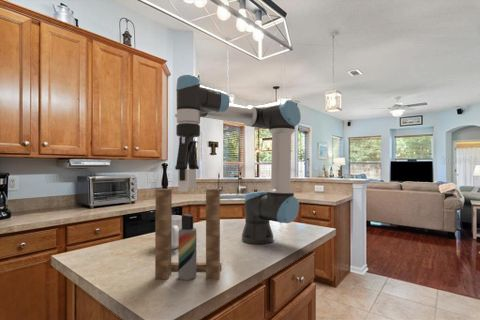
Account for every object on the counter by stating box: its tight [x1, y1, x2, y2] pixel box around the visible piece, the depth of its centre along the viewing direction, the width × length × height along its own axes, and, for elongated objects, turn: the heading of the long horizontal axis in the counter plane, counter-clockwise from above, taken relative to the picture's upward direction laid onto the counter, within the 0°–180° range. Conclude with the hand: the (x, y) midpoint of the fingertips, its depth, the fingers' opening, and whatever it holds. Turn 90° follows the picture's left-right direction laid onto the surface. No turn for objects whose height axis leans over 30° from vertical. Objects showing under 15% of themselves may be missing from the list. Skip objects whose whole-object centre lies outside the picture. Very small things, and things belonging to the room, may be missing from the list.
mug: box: [172, 214, 183, 250], centre depth 115 cm, size 15×11×13 cm
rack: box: [154, 188, 222, 281], centre depth 88 cm, size 20×9×28 cm, turn 89°
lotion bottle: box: [177, 213, 197, 281], centre depth 86 cm, size 6×6×20 cm
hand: (188, 189), depth 86 cm, fingers open, 13 cm apart
